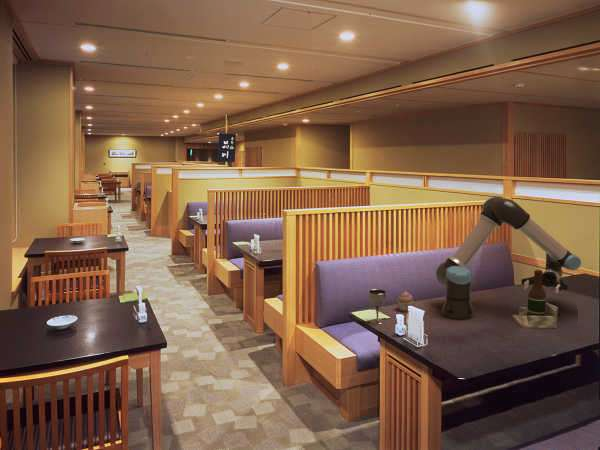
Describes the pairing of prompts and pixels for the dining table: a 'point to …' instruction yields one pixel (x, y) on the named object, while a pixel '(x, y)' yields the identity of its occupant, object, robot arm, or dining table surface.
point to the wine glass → (377, 302)
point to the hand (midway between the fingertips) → (540, 288)
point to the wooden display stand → (537, 318)
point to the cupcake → (405, 301)
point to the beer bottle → (537, 297)
